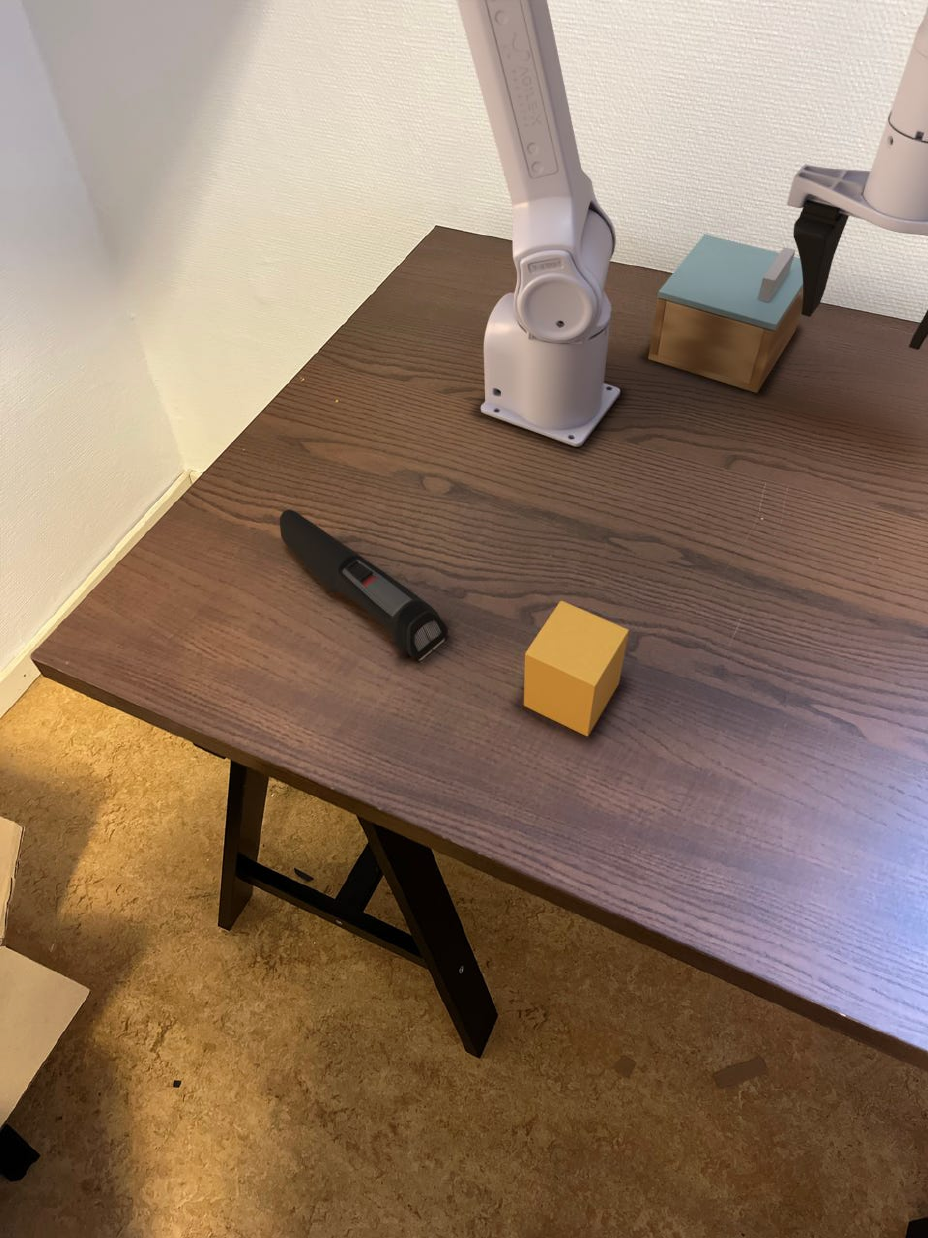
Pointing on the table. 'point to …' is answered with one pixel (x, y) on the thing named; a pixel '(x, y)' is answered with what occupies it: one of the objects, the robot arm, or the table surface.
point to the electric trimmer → (365, 586)
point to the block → (574, 667)
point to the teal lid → (736, 281)
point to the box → (719, 343)
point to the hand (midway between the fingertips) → (862, 324)
